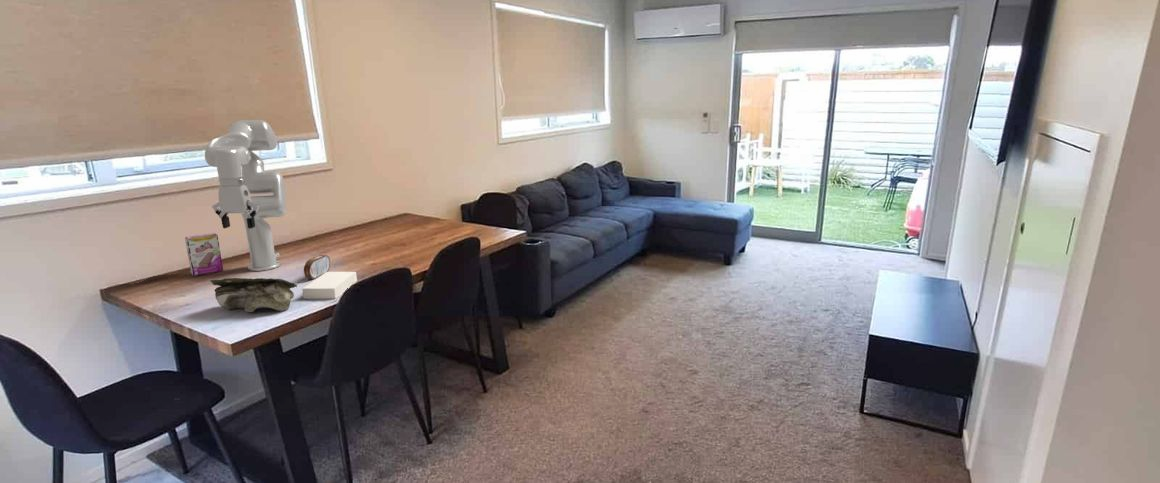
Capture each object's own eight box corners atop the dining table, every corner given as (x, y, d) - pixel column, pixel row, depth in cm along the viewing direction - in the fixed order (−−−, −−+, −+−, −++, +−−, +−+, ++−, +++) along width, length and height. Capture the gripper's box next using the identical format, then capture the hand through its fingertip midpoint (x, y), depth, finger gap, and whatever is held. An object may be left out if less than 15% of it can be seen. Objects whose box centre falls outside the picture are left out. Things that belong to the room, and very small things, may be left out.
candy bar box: (193, 276, 231) (186, 239, 227) (191, 274, 234) (183, 236, 230) (224, 271, 238) (217, 234, 234) (221, 268, 242) (214, 232, 238)
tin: (326, 270, 239) (323, 251, 237) (332, 270, 239) (330, 251, 237) (304, 281, 225) (301, 261, 223) (311, 281, 224) (308, 262, 222)
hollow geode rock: (218, 321, 197) (191, 303, 184) (229, 289, 204) (204, 270, 191) (295, 319, 196) (273, 301, 183) (304, 287, 203) (283, 268, 190)
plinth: (327, 281, 225) (326, 271, 224) (357, 281, 225) (356, 271, 224) (303, 298, 206) (302, 288, 205) (335, 298, 206) (334, 288, 204)
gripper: (260, 181, 205) (267, 225, 210) (216, 180, 206) (223, 225, 211) (247, 184, 198) (255, 230, 203) (201, 184, 199) (210, 229, 203)
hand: (239, 227), depth 207 cm, fingers open, 9 cm apart
